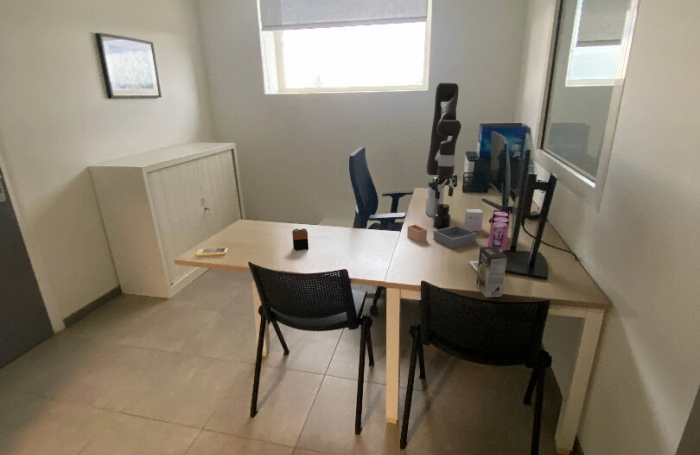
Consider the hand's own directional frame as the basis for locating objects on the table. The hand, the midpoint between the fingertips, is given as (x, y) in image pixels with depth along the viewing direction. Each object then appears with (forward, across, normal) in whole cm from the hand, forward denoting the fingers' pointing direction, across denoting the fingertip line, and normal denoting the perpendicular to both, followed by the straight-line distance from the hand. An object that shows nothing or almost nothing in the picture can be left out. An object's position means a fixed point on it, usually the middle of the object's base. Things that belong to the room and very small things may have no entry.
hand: (443, 197), depth 183 cm
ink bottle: (+22, -13, -13) cm, 28 cm away
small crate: (+22, +10, -7) cm, 25 cm away
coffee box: (+22, +23, +48) cm, 57 cm away
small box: (+22, -24, -1) cm, 32 cm away
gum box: (+22, -18, +19) cm, 34 cm away
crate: (+22, -4, +6) cm, 23 cm away
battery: (+22, +64, -28) cm, 73 cm away
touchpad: (+22, +10, +35) cm, 43 cm away
